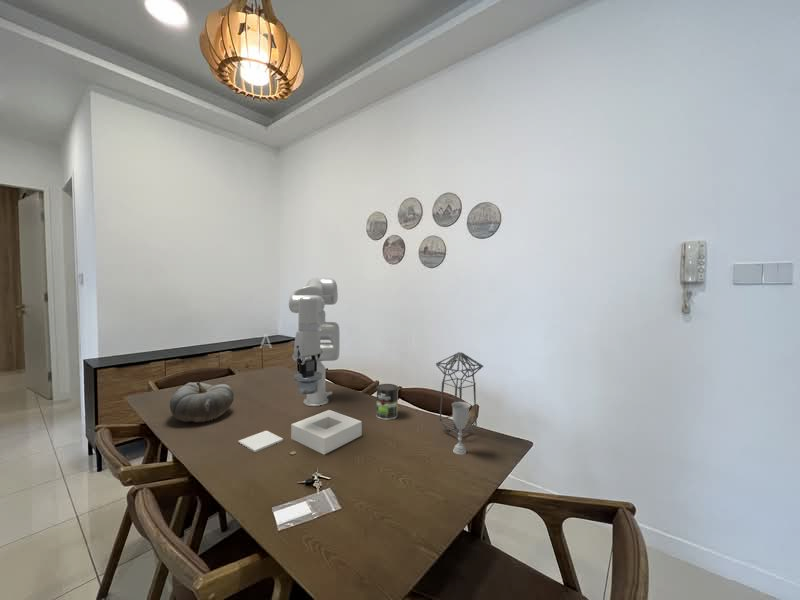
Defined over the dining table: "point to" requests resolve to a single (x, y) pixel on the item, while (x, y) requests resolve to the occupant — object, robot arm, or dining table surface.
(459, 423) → the chalice
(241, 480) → the dining table surface
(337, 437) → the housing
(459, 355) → the geometric lantern
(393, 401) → the coffee can
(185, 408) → the gourd
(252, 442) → the mat
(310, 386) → the grey round knobbed piece
